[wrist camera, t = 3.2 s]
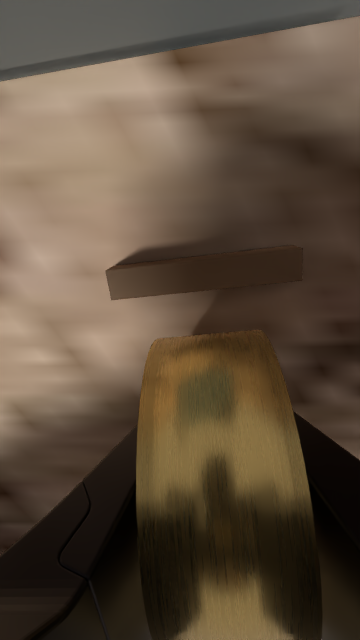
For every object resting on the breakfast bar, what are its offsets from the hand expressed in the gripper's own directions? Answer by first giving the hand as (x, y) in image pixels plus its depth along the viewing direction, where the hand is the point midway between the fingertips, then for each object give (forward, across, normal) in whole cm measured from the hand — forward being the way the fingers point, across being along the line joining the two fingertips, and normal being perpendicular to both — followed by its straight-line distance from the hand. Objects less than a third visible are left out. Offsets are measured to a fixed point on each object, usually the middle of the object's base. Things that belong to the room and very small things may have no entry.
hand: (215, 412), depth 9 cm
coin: (+1, 0, 0) cm, 1 cm away
